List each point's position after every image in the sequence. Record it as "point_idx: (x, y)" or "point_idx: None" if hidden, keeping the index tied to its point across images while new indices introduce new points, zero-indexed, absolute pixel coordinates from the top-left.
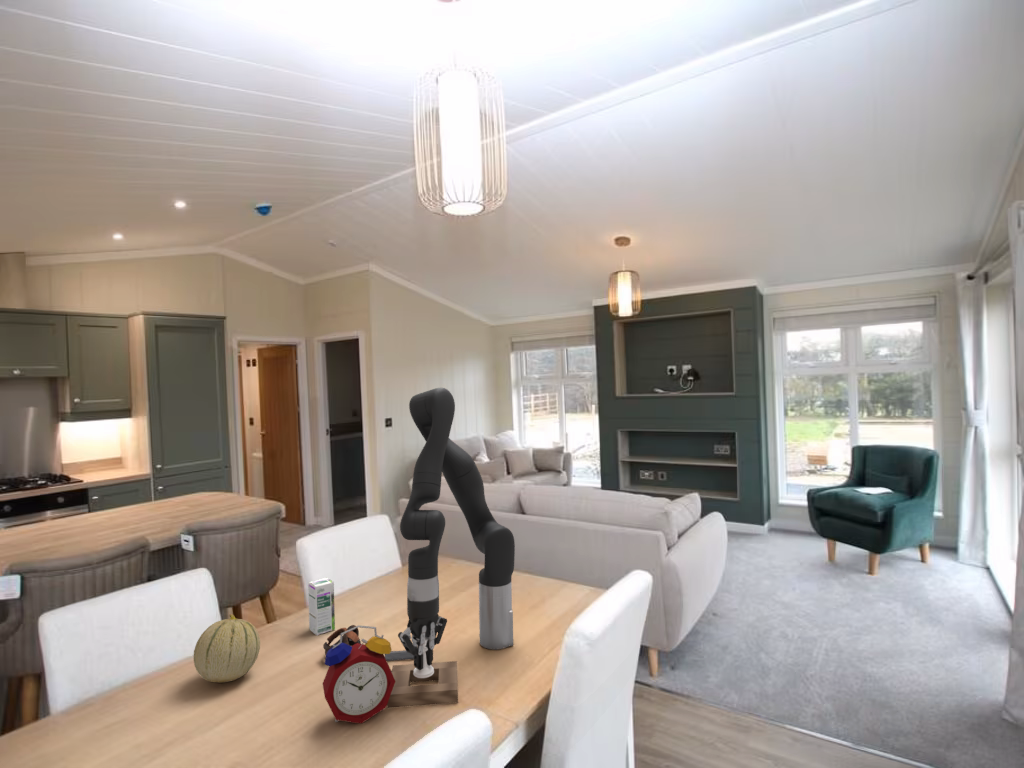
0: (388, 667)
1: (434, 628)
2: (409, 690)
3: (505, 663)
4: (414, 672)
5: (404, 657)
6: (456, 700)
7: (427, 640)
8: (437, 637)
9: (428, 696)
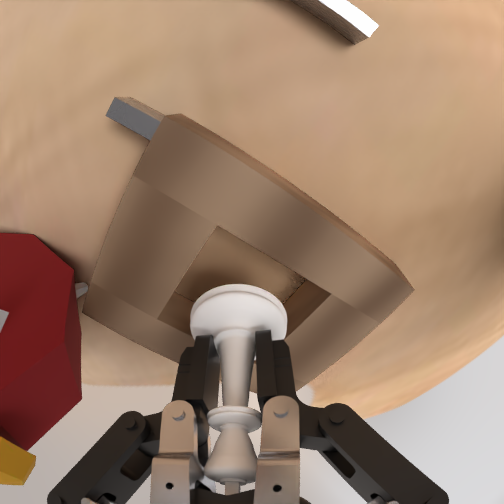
0: (45, 432)
1: (368, 476)
2: (153, 340)
3: (481, 301)
4: (191, 325)
5: (312, 8)
6: None
7: (284, 438)
8: (331, 463)
9: None
